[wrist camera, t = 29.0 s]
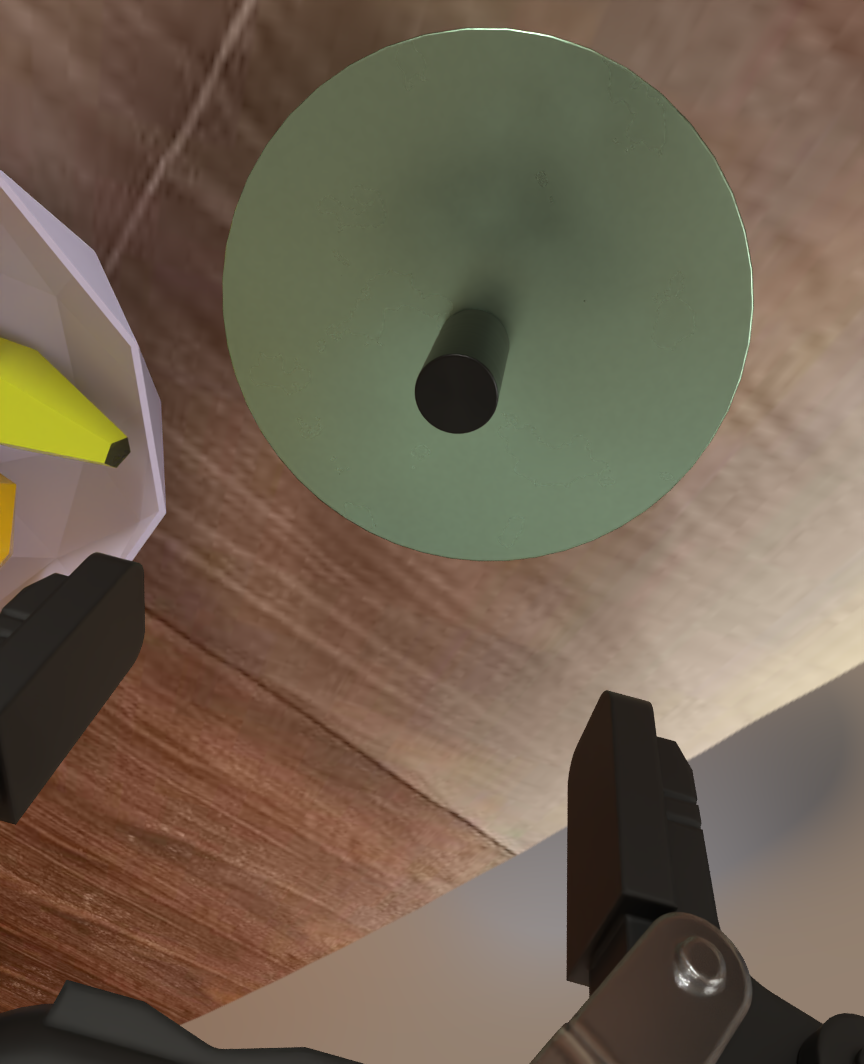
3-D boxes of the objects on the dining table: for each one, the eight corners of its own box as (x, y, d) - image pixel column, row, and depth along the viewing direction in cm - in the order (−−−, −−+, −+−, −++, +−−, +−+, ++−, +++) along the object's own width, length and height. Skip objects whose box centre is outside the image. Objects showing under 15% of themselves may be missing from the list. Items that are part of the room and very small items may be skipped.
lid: (855, 112, 22) (941, 125, 17) (633, 593, 33) (645, 691, 28) (251, -39, 23) (157, -71, 17) (222, 484, 33) (157, 561, 28)
